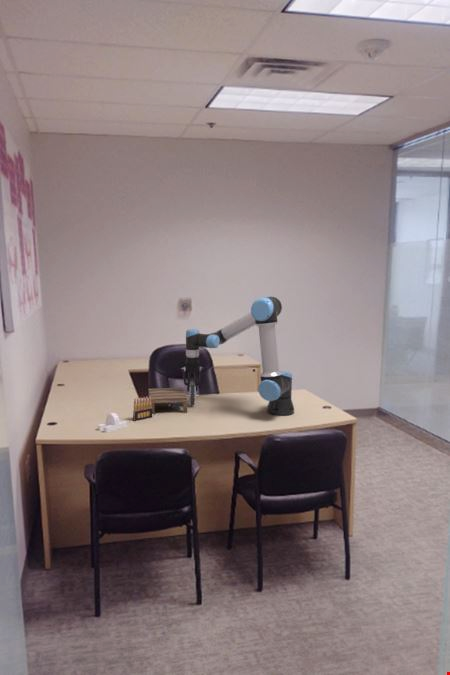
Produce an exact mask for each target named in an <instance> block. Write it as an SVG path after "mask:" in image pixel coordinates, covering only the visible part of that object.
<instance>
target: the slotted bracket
mask: <svg viewBox="0 0 450 675" xmlns="http://www.w3.org/2000/svg"><path fill="white" fill-rule="evenodd" d="M119 418H120V417H119V416H118V414H117V413H116V412H111V413H108V414H107V415H106V416H105V422H103V423H100V424H98V425H97V429H98V431H100V430H101V431H103V433H109V432H110V431H111V432H114V431H116V429H117V430H119V428H120V429H124V428H126V426H127V425H128V422H127V421H126V420H123V421H122V419H119ZM123 427H124V428H123ZM103 429H104V430H103ZM113 430H114V431H113Z"/></svg>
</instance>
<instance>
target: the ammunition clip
mask: <svg viewBox="0 0 450 675" xmlns="http://www.w3.org/2000/svg"><path fill="white" fill-rule="evenodd" d="M132 412H133V413H132V414H133V415H132V419H133V421H134V422H138V421H143V420H148V419H151V418H153V415H152V408H151V397H150V396H149V395H148V396H146V397H145V396H143V398H142V397H140V398H139V397H138V398H137V399H136V398H134V400H133V411H132ZM147 418H148V419H147Z"/></svg>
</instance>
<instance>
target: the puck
mask: <svg viewBox="0 0 450 675" xmlns="http://www.w3.org/2000/svg"><path fill="white" fill-rule="evenodd" d="M181 408H182V405H180V404H174V405H172V409H181Z"/></svg>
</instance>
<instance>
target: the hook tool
mask: <svg viewBox="0 0 450 675" xmlns="http://www.w3.org/2000/svg"><path fill="white" fill-rule="evenodd" d="M190 385H191V397H189V399H188V398H187V404H188V403H189V404H190V405H191V406H195V402H196V401H195V398H196V397H195V382H190ZM171 404H183V402H167V407H168V408H171Z"/></svg>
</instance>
